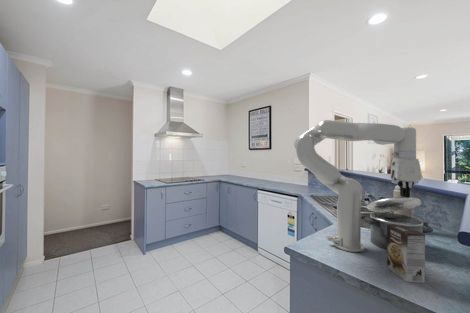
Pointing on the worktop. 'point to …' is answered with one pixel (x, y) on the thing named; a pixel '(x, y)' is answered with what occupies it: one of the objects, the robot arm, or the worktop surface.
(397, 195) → the thermos bottle
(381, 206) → the lid
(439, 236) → the worktop surface
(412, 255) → the coffee box
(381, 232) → the pot
